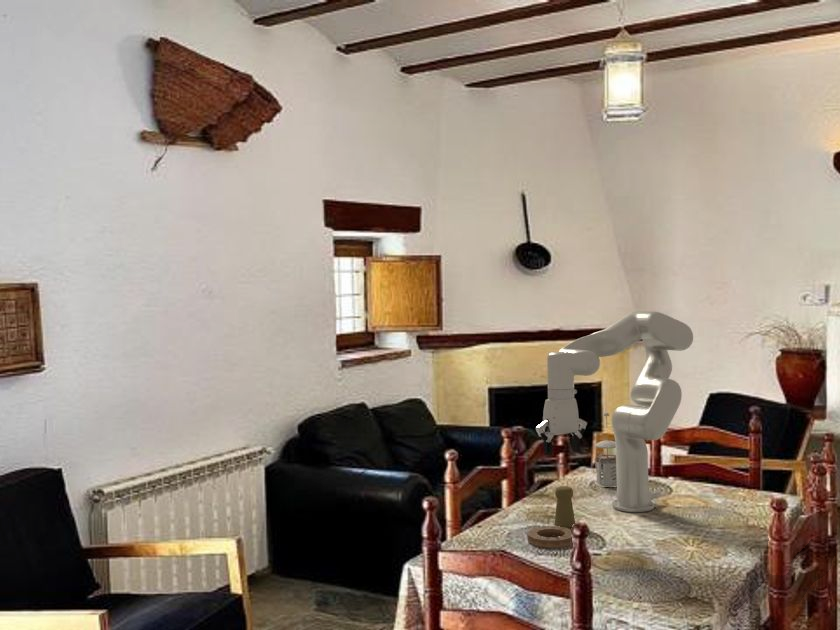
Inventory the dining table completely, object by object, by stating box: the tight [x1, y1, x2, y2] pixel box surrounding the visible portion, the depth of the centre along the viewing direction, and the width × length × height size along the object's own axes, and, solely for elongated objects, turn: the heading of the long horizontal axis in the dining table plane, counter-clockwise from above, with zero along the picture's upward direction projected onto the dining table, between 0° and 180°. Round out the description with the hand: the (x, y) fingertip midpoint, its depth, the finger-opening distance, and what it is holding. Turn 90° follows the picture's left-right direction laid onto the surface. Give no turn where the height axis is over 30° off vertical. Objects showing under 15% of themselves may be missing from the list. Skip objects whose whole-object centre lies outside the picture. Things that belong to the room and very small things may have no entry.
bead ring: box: [526, 525, 573, 549], centre depth 225 cm, size 13×13×2 cm
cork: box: [554, 485, 576, 528], centre depth 239 cm, size 6×6×11 cm
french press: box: [594, 412, 617, 487], centre depth 282 cm, size 10×12×25 cm
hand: (562, 453), depth 238 cm, fingers open, 9 cm apart
